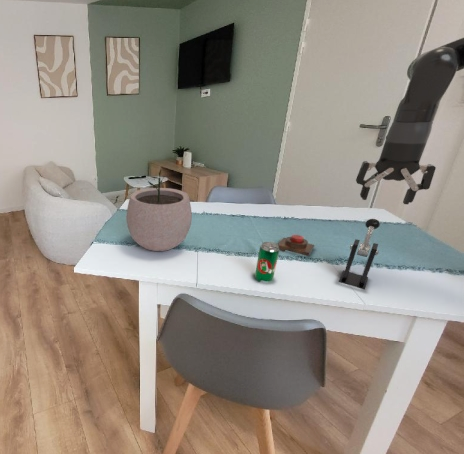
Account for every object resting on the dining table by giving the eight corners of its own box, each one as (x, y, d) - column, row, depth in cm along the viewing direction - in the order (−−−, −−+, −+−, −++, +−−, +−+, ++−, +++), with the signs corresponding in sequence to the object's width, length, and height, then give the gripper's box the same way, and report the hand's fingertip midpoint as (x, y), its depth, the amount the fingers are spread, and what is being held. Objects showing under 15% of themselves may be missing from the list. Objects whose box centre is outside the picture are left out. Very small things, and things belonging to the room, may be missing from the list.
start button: (303, 240, 105) (304, 236, 104) (301, 244, 102) (302, 239, 102) (292, 238, 107) (293, 233, 106) (289, 241, 105) (290, 237, 104)
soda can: (265, 274, 93) (272, 240, 88) (276, 282, 88) (284, 247, 83) (250, 276, 92) (256, 242, 87) (261, 285, 87) (268, 249, 83)
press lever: (365, 223, 89) (368, 215, 87) (379, 225, 87) (382, 217, 85) (354, 255, 84) (356, 247, 82) (368, 258, 81) (371, 251, 79)
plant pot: (125, 234, 125) (124, 164, 113) (182, 233, 124) (186, 162, 112) (127, 262, 103) (126, 179, 91) (196, 261, 102) (204, 177, 90)
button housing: (313, 250, 105) (315, 240, 104) (307, 258, 100) (310, 248, 99) (282, 242, 112) (284, 233, 110) (275, 249, 107) (278, 240, 105)
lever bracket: (342, 273, 91) (354, 236, 86) (367, 280, 87) (381, 242, 82) (337, 284, 86) (350, 246, 81) (363, 292, 82) (378, 252, 77)
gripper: (371, 141, 74) (352, 201, 80) (452, 143, 67) (424, 209, 73) (366, 138, 80) (349, 194, 86) (441, 139, 72) (416, 201, 79)
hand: (384, 201), depth 80 cm, fingers open, 8 cm apart
